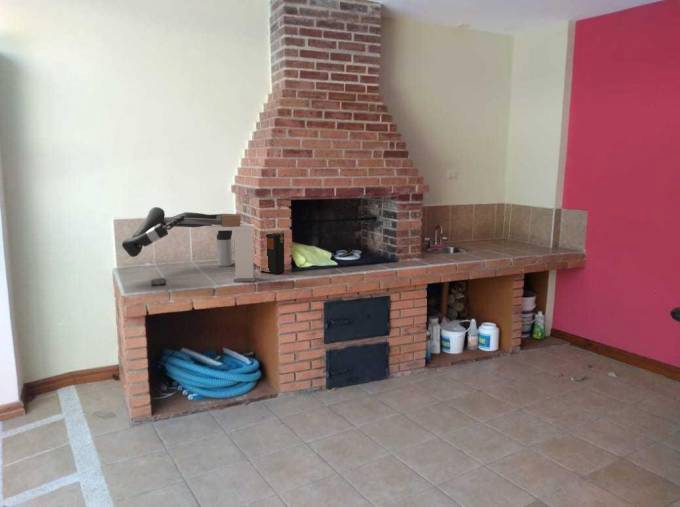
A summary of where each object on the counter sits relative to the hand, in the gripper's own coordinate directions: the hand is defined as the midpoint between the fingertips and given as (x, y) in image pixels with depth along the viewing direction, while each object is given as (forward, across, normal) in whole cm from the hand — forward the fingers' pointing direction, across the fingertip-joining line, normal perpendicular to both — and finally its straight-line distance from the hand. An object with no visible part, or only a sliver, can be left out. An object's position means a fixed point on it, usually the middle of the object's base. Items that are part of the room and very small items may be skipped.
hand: (183, 217), depth 304 cm
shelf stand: (+5, 0, -45) cm, 46 cm away
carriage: (+9, 0, -10) cm, 14 cm away
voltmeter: (+24, -18, -56) cm, 64 cm away
